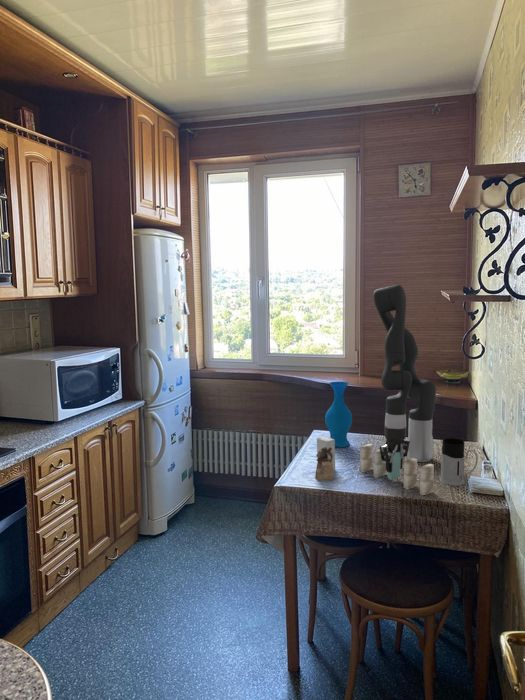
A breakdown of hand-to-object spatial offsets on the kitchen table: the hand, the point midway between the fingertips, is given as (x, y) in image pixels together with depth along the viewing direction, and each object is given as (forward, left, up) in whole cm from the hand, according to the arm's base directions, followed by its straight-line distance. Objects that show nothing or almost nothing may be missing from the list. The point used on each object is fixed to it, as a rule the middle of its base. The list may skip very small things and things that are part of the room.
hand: (394, 470), depth 192 cm
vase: (-14, -44, -5) cm, 46 cm away
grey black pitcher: (-17, +15, -4) cm, 23 cm away
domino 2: (0, -7, -4) cm, 8 cm away
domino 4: (0, +7, -4) cm, 8 cm away
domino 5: (0, +14, -4) cm, 15 cm away
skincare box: (+11, -25, -4) cm, 27 cm away
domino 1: (0, -14, -4) cm, 14 cm away
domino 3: (0, 0, -3) cm, 3 cm away
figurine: (+18, -18, -4) cm, 26 cm away
